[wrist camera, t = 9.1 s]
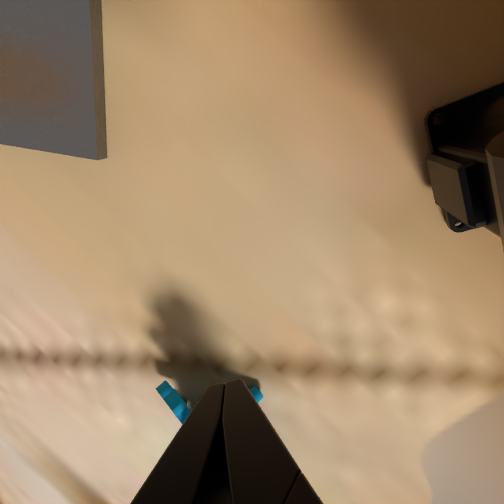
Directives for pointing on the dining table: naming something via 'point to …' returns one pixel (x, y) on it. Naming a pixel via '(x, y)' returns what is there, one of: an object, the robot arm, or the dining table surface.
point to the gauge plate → (53, 77)
